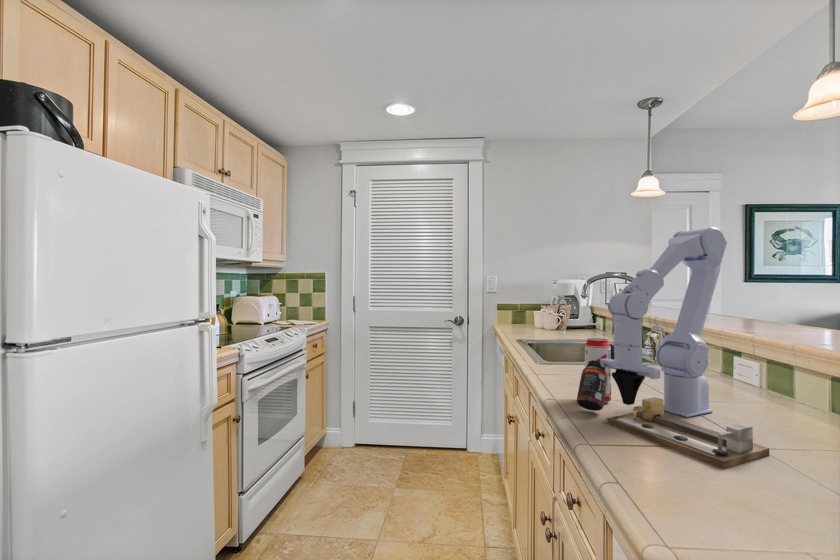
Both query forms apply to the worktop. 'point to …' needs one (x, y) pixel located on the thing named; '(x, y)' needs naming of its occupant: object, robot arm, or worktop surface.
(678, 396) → the robot arm
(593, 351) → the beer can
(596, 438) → the worktop surface
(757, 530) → the worktop surface
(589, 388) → the supplement bottle
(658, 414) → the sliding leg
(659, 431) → the board
